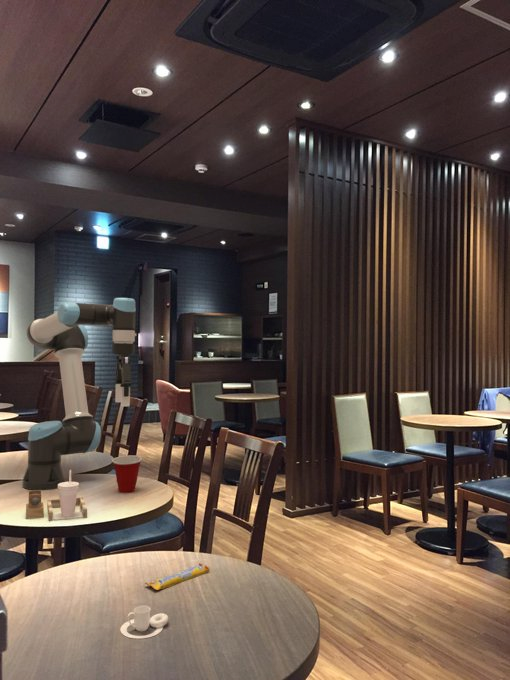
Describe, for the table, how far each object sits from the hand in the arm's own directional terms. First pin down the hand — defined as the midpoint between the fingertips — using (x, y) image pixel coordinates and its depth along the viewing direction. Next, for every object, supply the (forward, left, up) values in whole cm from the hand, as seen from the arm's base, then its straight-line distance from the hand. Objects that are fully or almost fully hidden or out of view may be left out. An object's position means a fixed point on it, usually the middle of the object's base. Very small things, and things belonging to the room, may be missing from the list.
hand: (122, 404), depth 199 cm
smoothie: (+20, -12, -33) cm, 40 cm away
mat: (+20, -12, -33) cm, 40 cm away
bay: (+16, -13, -33) cm, 39 cm away
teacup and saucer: (+92, +25, -33) cm, 101 cm away
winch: (+20, -22, -33) cm, 44 cm away
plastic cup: (-11, 0, -33) cm, 35 cm away
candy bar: (+67, +27, -33) cm, 80 cm away
